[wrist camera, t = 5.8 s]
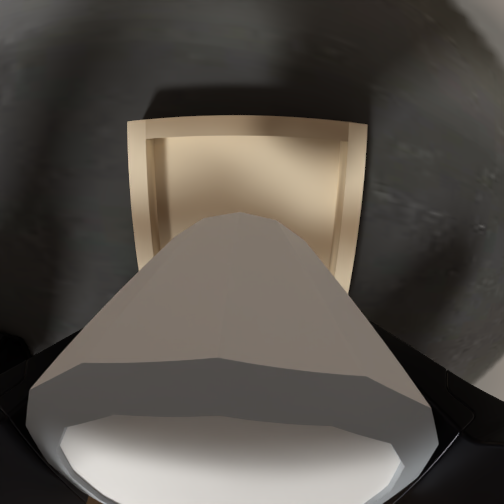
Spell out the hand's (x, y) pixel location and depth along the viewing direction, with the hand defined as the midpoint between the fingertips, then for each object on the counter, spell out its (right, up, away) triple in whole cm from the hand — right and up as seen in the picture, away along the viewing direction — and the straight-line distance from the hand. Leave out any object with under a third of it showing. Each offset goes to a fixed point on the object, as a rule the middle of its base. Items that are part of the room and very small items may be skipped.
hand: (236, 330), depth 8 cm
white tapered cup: (0, +1, +2) cm, 2 cm away
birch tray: (0, +4, +9) cm, 10 cm away
